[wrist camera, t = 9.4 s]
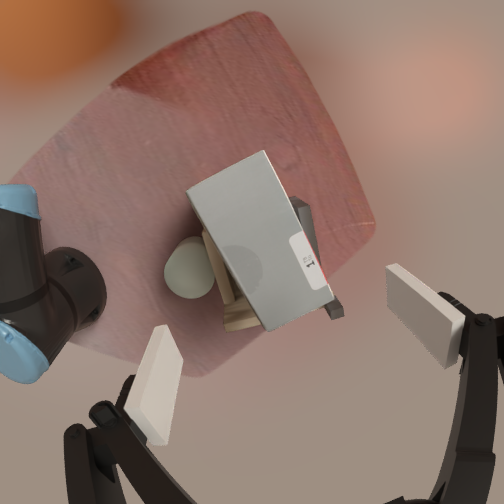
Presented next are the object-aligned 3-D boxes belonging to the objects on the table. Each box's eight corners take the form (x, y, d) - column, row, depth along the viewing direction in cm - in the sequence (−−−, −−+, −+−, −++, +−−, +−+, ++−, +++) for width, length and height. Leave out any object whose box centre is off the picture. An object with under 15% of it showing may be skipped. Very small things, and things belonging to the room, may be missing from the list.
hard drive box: (296, 243, 46) (336, 302, 27) (253, 266, 47) (265, 337, 28) (250, 153, 41) (264, 148, 22) (204, 178, 42) (180, 193, 23)
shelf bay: (228, 284, 47) (225, 347, 31) (208, 218, 44) (192, 253, 28) (309, 263, 47) (344, 316, 31) (295, 196, 44) (329, 218, 28)
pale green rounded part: (178, 280, 47) (169, 300, 40) (170, 238, 45) (159, 253, 38) (220, 276, 47) (217, 296, 40) (215, 234, 45) (211, 248, 38)
